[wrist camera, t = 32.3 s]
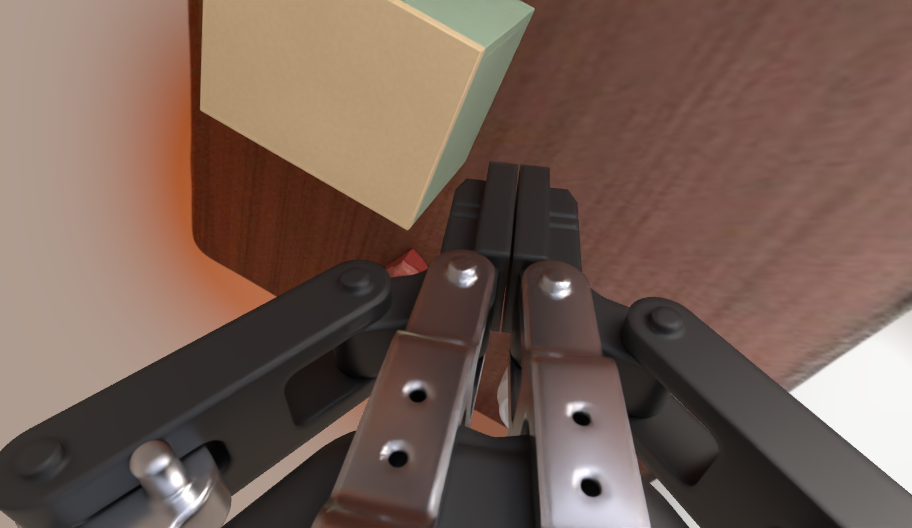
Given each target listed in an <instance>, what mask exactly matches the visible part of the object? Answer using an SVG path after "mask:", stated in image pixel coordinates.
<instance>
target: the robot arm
mask: <svg viewBox="0 0 912 528" xmlns="http://www.w3.org/2000/svg"><path fill="white" fill-rule="evenodd" d="M517 172H518V164H510V163H501V162H491V161H490V163H489V168H488V174H487V180H486V181H483V180H474V179H466V180H465V181H464V182H463V183H462V184H461V185H460V186H459V187H458V188H457V189H456V190H455V194H454V198H453V203H452V207H451V211H450V216H449V219H448V223H447V227H446V231H445V235H444V239H443V244H442V248H441V252H440V255H438V256H437V257H435V258H434V259H433V260H432V262H431V263H430V265H429V268H428V269H426V270H424V271H422V272H420V273H416V274H413V275H407V276H399V277H390V275H389V273H388V272H387V270H386V269H385V268H384V267H382V266H381V265H379V264H377V263H375V262H372V261H367V260H351V261H346V262H343V263H340V264H338V265H336V266H334V267H332V268H330V269H328V270H327V271H325V272H323V273H321V274H319V275H317V276H315V277H313V278H312V279H310V280H308V281H306V282H304V283H302V284H300V285H298V286H297V287H295V288H293V289H291V290H289V291H287V292H285V293H283V294H282V295H280V296H278V297H276V298H274V299H272V300H270V301H268V302H267V303H265V304H263V305H261V306H259V307H257V308H256V309H254V310H252V311H250V312H248V313H246V314H244V315H242V316H240V317H238V318H237V319H235V320H233V321H231V322H229V323H227V324H225V325H223V326H222V327H220V328H218V329H216V330H214V331H212V332H210V333H208V334H207V335H205V336H203V337H201V338H199V339H197V340H195V341H194V342H192V343H190V344H188V345H186V346H184V347H182V348H180V349H178V350H176V351H175V352H173V353H171V354H169V355H167V356H165V357H163V358H161V359H160V360H158V361H156V362H154V363H152V364H150V365H148V366H147V367H145V368H143V369H141V370H139V371H137V372H135V373H133V374H132V375H130V376H128V377H126V378H124V379H122V380H120V381H118V382H116V383H115V384H113V385H111V386H109V387H107V388H105V389H103V390H101V391H100V392H98V393H96V394H94V395H92V396H90V397H88V398H86V399H85V400H83V401H81V402H79V403H77V404H75V405H73V406H72V407H70V408H68V409H66V410H64V411H62V412H60V413H58V414H56V415H55V416H53V417H51V418H49V419H47V420H45V421H43V422H42V423H40V424H38V425H36V426H34V427H32V428H30V429H28V430H27V431H25V432H23V433H22V434H20V435H19V436H17V437H16V438H15V439H13V440H12V441H11V442H10V443H9V444H7V445H6V446H5V447H4V448H3V449H2V450H1V451H0V511H2V512H3V513H4V514H6V515H7V516H8V517H10V518H11V519H12V520H13V521H15V523H16V525H17V527H18V528H689V527H688V526H687V524H686V523H685V522H684V521H683V520H682V518H681V517H680V516H679V515H678V513H677V512H676V511H675V510H674V509H673V507H672V506H671V505H670V504H669V502H668V501H667V500H666V499H665V498H664V497H663V496H662V495H661V494H660V493H659V492H658V491H657V490H656V489H655V488H654V487H653V486H652V485H651V484H650V483H649V482H647V481H646V480H645V479H644V478H642V477H641V476H640V472H639V467H638V462H637V458H636V455H637V456H638V457H639V458H640V459H641V460H642V461H643V463H644V464H645V465H646V466H647V467H648V468H649V469H650V471H651V472H652V473H653V474H654V475H655V476H656V477H657V479H658V480H659V481H660V482H661V483H662V484H663V485H664V487H665V488H666V489H667V490H668V491H669V492H670V493H671V495H673V497H674V498H675V499H676V500H677V501H678V503H679V504H680V505H681V506H682V507H683V508H684V509H685V511H686V512H687V513H688V514H689V515H690V516H691V517H692V519H693V520H694V521H695V522H696V523H697V524H698V525H699V527H700V528H912V495H911V494H910V493H909V492H908V491H906V490H905V489H904V488H903V487H902V486H900V485H899V484H898V483H897V482H896V481H894V480H893V479H892V478H891V477H890V476H888V475H887V474H886V473H885V472H884V471H882V470H881V469H880V468H878V466H876V465H875V464H874V463H873V462H871V461H870V460H869V459H868V458H867V457H865V456H864V455H863V454H862V453H861V452H859V451H858V450H857V449H856V448H854V447H853V446H852V445H851V444H850V443H849V442H847V441H846V440H845V439H844V438H842V437H841V436H840V435H839V434H838V433H837V432H835V431H834V430H833V429H832V428H831V427H829V426H828V425H827V424H826V423H824V422H823V421H822V420H821V419H820V418H818V417H817V416H816V415H815V414H814V413H812V412H811V411H810V410H809V409H808V408H806V407H805V406H804V405H803V404H802V403H800V402H799V401H798V400H797V399H795V398H794V397H793V396H792V395H791V394H790V393H788V392H787V391H786V390H785V389H783V388H782V387H781V386H780V385H779V384H777V383H776V382H775V381H774V380H773V379H771V378H770V377H769V376H768V375H767V374H765V373H764V372H763V371H762V370H761V369H759V368H758V367H757V366H756V365H755V364H753V363H752V362H751V361H750V360H749V359H747V358H746V357H745V356H744V355H742V354H741V353H740V352H739V351H738V350H736V349H735V348H734V347H733V346H732V345H730V344H729V343H728V342H727V341H726V340H724V339H723V338H722V337H721V336H720V335H718V334H717V333H716V332H715V331H714V330H712V329H711V328H710V327H709V326H708V325H706V324H705V323H704V322H703V321H701V320H700V319H699V318H698V317H697V316H695V315H694V314H693V313H692V312H691V311H689V310H688V309H687V308H685V307H684V306H682V305H680V304H679V303H676V302H674V301H672V300H669V299H665V298H659V297H647V298H642V299H640V300H638V301H636V302H634V303H633V304H632V305H631V307H627V306H624V305H622V304H619V303H616V302H613V301H611V300H609V299H606V298H604V297H603V296H601V295H599V294H598V293H596V292H595V291H594V290H593V289H592V288H590V284H589V281H588V279H587V277H586V276H585V275H584V274H583V273H582V266H581V251H580V236H579V221H578V206H577V202H576V200H575V199H574V197H573V196H572V195H571V193H570V192H569V190H566V189H557V188H550V168H548V167H539V166H530V165H520V171H519V178H518V185H517V192H516V184H517ZM515 195H516V199H515ZM505 287H506V291H505ZM504 293H505V302H504V313H503V324H502V332H507V333H511V342H510V350H509V355H508V363H507V365H508V424H509V434H508V436H507V437H491V436H488V435H485V434H483V433H480V432H478V431H475V430H473V429H470V424H471V419H472V414H473V410H474V406H475V401H476V396H477V392H478V387H479V382H480V378H481V373H482V368H483V364H484V358H485V353H486V352H487V350H488V348H489V343H490V335H491V331H499V327H500V320H501V314H502V307H503V300H504ZM369 396H370V397H369ZM368 397H369V400H368V402H367V405H366V407H365V410H364V412H363V415H362V418H361V420H360V423H359V425H358V428H357V430H356V431H353V432H350V433H348V434H345V435H343V436H341V437H339V438H337V439H335V440H334V441H332V442H330V443H329V444H327V445H325V446H324V447H322V448H321V449H320V450H318V451H317V452H316V453H314V454H313V455H312V456H311V457H309V458H308V459H307V460H306V461H304V462H303V463H302V464H301V465H299V466H298V467H297V468H296V469H294V470H293V471H292V472H291V473H289V474H288V475H287V476H285V477H284V478H283V479H282V480H280V481H279V482H278V483H277V484H276V485H274V486H273V487H272V488H271V489H269V490H268V491H267V492H265V493H264V494H263V495H262V496H260V497H259V498H258V499H256V500H255V501H254V502H253V503H251V504H250V505H249V506H248V507H246V508H245V509H244V510H243V511H241V512H240V513H239V514H238V515H236V516H235V517H234V518H233V519H231V520H230V521H229V522H228V523H226V524H225V525H224V526H222V525H223V524H224V522H225V520H226V518H227V516H228V514H229V510H230V507H231V496H233V495H234V494H235V493H237V492H238V491H239V490H241V489H242V488H244V487H245V486H246V485H248V484H249V483H250V482H252V481H253V480H254V479H256V478H257V477H259V476H260V475H261V474H263V473H264V472H266V471H267V470H268V469H270V468H271V467H273V466H274V465H275V464H277V463H278V462H279V461H281V460H282V459H283V458H285V457H286V456H288V455H289V454H290V453H292V452H293V451H295V450H296V449H297V448H299V447H300V446H302V445H303V444H304V443H306V442H307V441H308V440H310V439H311V438H313V437H314V436H315V435H317V434H318V433H320V432H321V431H322V430H324V429H325V428H326V427H328V426H329V425H331V424H332V423H333V422H335V421H336V420H337V419H339V418H340V417H342V416H343V415H344V414H346V413H347V412H349V411H350V410H351V409H353V408H354V407H355V406H357V405H358V404H360V403H361V402H362V401H364V400H365V399H366V398H368ZM682 404H683V405H684V406H685V407H686V408H687V409H688V410H689V411H690V412H691V413H692V414H693V415H694V416H695V417H696V418H697V419H698V420H699V421H700V422H701V423H702V424H703V425H704V426H705V427H706V428H707V429H708V430H709V431H710V432H711V433H710V432H709V431H708V430H707V429H706V428H705V427H704V426H703V425H702V424H701V423H700V422H699V421H698V420H697V419H696V418H695V417H694V416H693V415H692V414H691V413H690V412H689V411H688V410H687V409H686V408H685V407H684V406H683V405H682Z"/></svg>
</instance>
